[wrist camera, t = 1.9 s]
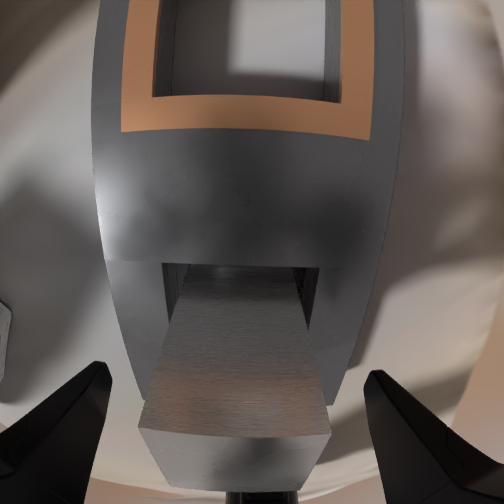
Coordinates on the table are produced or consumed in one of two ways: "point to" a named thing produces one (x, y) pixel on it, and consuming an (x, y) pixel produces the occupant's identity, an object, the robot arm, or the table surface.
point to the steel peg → (236, 385)
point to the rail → (245, 174)
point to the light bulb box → (3, 336)
